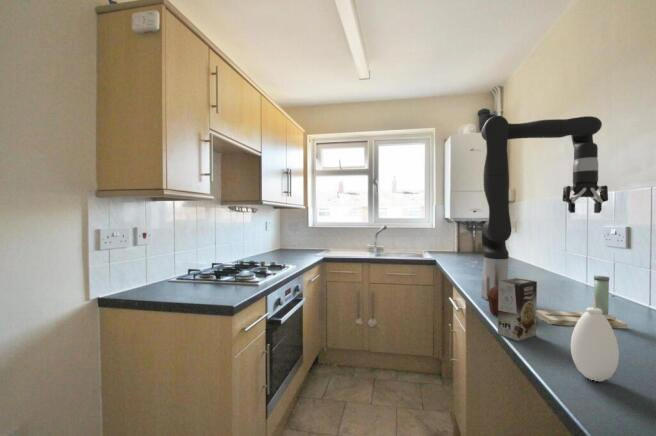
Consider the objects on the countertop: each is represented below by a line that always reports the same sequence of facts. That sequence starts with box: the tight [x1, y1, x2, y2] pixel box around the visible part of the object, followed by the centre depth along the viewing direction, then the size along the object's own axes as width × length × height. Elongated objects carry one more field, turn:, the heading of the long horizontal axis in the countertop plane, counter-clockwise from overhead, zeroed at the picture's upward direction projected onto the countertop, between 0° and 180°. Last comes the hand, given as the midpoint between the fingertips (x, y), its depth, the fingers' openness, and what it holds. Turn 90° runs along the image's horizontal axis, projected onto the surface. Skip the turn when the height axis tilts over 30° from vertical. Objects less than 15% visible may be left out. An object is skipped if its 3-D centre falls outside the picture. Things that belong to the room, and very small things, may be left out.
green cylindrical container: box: [593, 275, 617, 319], centre depth 101 cm, size 5×6×13 cm
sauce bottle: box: [570, 296, 620, 382], centre depth 66 cm, size 8×8×18 cm
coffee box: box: [497, 277, 538, 342], centre depth 90 cm, size 9×6×16 cm
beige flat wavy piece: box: [536, 309, 628, 329], centre depth 102 cm, size 22×10×2 cm, turn 81°
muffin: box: [487, 285, 499, 317], centre depth 109 cm, size 12×11×10 cm
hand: (584, 212), depth 118 cm, fingers open, 8 cm apart
